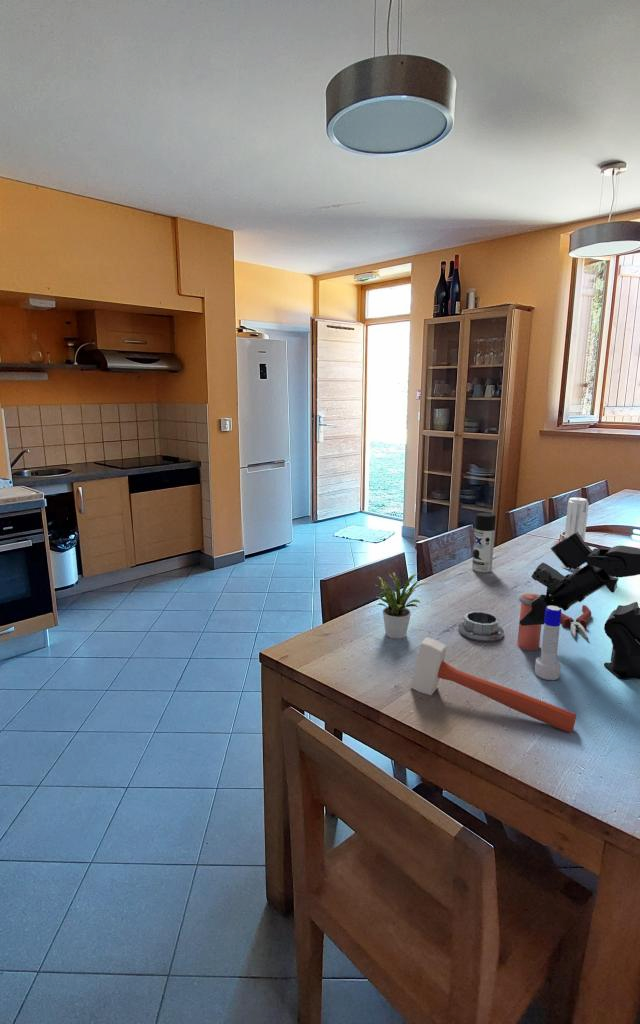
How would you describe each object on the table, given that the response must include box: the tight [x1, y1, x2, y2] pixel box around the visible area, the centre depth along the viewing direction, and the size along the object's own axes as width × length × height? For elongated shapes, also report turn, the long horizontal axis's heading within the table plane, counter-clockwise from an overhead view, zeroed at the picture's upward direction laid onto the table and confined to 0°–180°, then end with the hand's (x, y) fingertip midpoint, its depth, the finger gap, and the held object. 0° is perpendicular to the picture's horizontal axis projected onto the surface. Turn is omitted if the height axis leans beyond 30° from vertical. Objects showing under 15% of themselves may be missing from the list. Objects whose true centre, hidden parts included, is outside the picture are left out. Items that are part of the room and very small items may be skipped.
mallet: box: [409, 636, 577, 734], centre depth 104 cm, size 11×4×30 cm
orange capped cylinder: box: [516, 592, 542, 651], centre depth 129 cm, size 6×6×12 cm
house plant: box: [376, 571, 429, 640], centre depth 135 cm, size 14×14×16 cm
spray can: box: [471, 512, 496, 574], centre depth 185 cm, size 7×7×20 cm
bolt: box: [534, 606, 563, 681], centre depth 115 cm, size 16×5×5 cm
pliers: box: [560, 604, 592, 640], centre depth 143 cm, size 12×21×3 cm, turn 166°
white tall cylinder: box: [561, 497, 590, 571], centre depth 187 cm, size 6×6×25 cm
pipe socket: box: [457, 610, 505, 643], centre depth 137 cm, size 11×11×4 cm
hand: (526, 617), depth 129 cm, fingers open, 9 cm apart
